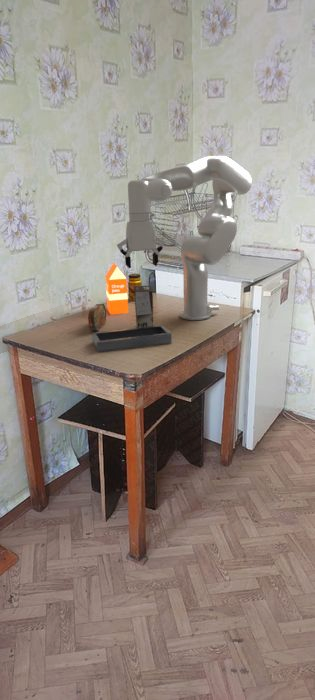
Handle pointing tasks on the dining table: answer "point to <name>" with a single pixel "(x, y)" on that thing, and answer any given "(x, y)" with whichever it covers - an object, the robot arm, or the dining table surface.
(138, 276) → the condiment
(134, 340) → the dark grey tray
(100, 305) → the tin
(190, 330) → the dining table surface
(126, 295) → the orange juice
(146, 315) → the coffee box
